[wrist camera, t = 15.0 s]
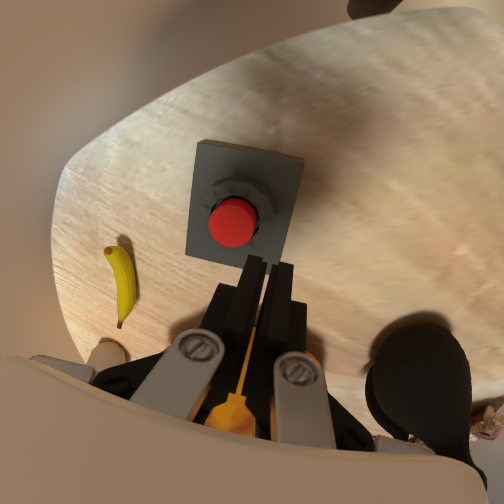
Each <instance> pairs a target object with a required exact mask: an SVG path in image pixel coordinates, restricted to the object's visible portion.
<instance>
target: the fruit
mask: <svg viewBox="0 0 504 504" xmlns="http://www.w3.org/2000/svg"><path fill="white" fill-rule="evenodd" d="M104 255H105V257H106V259H107V260H108V261H109V263H110V265H111V266H112V268H113V271H114V274H115V278H116V283H117V307H118V324H117V328H119V329H121V327H122V323H123V321H124V320H125V318H126V317H127V316H128V315H129V314H130V312H131V311H132V309H133V307H134V303H135V295H136V282H135V273H134V268H133V264H132V261H131V259H130V256H129V255H128V253H127V252H126V250H124V249H123V248H122V247H119V246H108V247H106V248H105V249H104Z"/></svg>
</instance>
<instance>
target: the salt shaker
mask: <svg viewBox="0 0 504 504" xmlns="http://www.w3.org/2000/svg"><path fill="white" fill-rule="evenodd" d="M124 363H126V356H125V351H124V350H123V349H122V348H121V347H120V346H119V345H118V344H117V343H114V342H109V341H105V342H103V343H102V344H100V345H98V346H96V347H95V348H94V349H93V350H92V352H91V355H90V357H89V360H88V362H87V366H92V367H94V368H95V370H96V371H102V370H104V369H107V368H110V367H113V366H117V365H120V364H124Z"/></svg>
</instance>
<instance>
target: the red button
mask: <svg viewBox="0 0 504 504" xmlns="http://www.w3.org/2000/svg"><path fill="white" fill-rule="evenodd" d="M256 223H257V217H256V213H255V211H254V209H253V208H252V206H251V205H250V204H249V203H247V202H246V201H244V200H241V199H237V198H231V199H227V200H224V201H223V202H221V203H220V204H219V205H218V206H217V208H216V209H215V210H214V211H213V213H212V214H211V216H210V219H209V229H210V232H211V234H212V236H213V237H214V239H215V240H216V241H217V242H219V243H220V244H222V245H224V246H227V247H239V246H242V245H244V244H246V243H247V242H248V241H249V240H250V239H251V237H252V235H253V233H254V230H255V227H256Z"/></svg>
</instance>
